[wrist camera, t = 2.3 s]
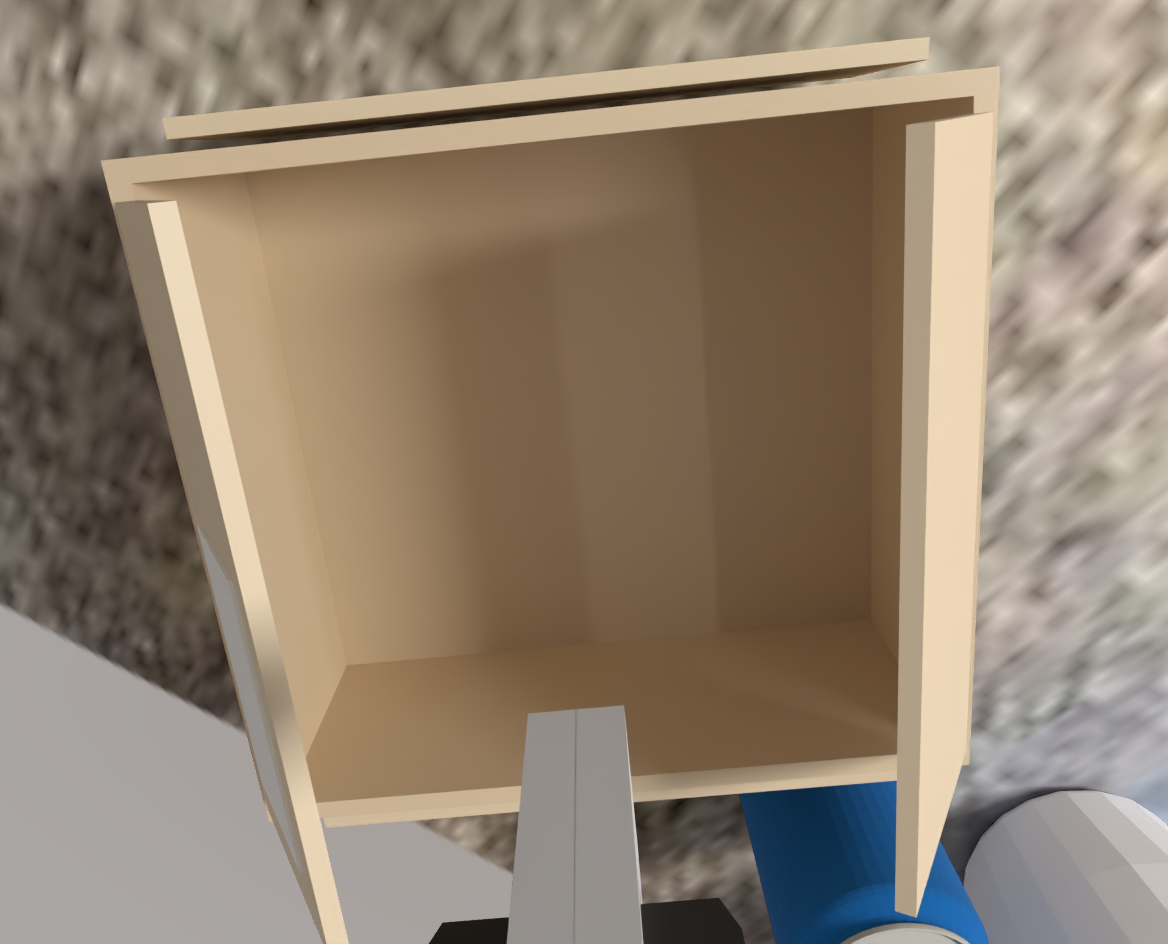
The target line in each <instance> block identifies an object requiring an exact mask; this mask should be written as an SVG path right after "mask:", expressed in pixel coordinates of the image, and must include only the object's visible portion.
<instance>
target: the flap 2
mask: <svg viewBox="0 0 1168 944" xmlns="http://www.w3.org/2000/svg"><path fill="white" fill-rule="evenodd" d="M992 133H993V112H985V113H975V114H967V115H962V116H956V117H950V118H944V119H938V120H932V121H926V122H921V123H915V124H909V125H906V176H905V246H904V316H903V386H902V455H901V525H900V595H899V664H898V734H897V804H896V874H895V911H896V912H900V913H903V914H906V915H909V916H913V917H917V914H918V910H919V907H920V904H921V900H922V897H923V894H924V890H925V887H926V884H927V880H928V877H929V874H930V870H931V867H932V864H933V860H934V857H935V853H936V850H937V847H938V843H939V840H940V837H941V833H942V830H943V827H944V823H945V820H946V817H947V813H948V810H949V806H950V803H951V800H952V796H953V793H954V790H955V786H956V783H957V780H958V776H959V773H960V770H961V766H962V763H963V760H964V756H965V753H966V739H967V716H968V692H969V669H970V646H971V622H972V599H973V576H974V553H975V529H976V506H977V483H978V459H979V436H980V413H981V390H982V366H983V343H984V320H985V296H986V273H987V250H988V226H989V203H990V180H991V157H992Z"/></svg>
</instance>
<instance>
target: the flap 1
mask: <svg viewBox="0 0 1168 944" xmlns="http://www.w3.org/2000/svg"><path fill="white" fill-rule="evenodd" d="M115 207H116V211H117V215H118V219H119V223H120V227H121V231H122V235H123V239H124V243H125V247H126V251H127V255H128V259H129V263H130V266H131V270H132V274H133V278H134V282H135V286H136V290H137V294H138V298H139V302H140V306H141V310H142V314H143V318H144V322H145V326H146V330H147V334H148V337H149V341H150V345H151V349H152V353H153V357H154V361H155V365H156V369H157V373H158V377H159V381H160V385H161V389H162V393H163V397H164V401H165V405H166V408H167V412H168V416H169V420H170V424H171V428H172V432H173V436H174V440H175V444H176V448H177V452H178V456H179V460H180V464H181V468H182V472H183V476H184V479H185V483H186V487H187V491H188V495H189V499H190V503H191V507H192V511H193V515H194V519H195V523H196V527H197V531H198V535H199V539H200V543H201V547H202V550H203V554H204V558H205V562H206V566H207V570H208V574H209V578H210V582H211V586H212V590H213V594H214V598H215V602H216V606H217V610H218V614H219V618H220V621H221V625H222V629H223V633H224V637H225V641H226V645H227V649H228V653H229V657H230V661H231V665H232V669H233V673H234V677H235V681H236V685H237V689H238V692H239V696H240V700H241V704H242V708H243V712H244V716H245V720H246V724H247V728H248V732H249V736H250V740H251V744H252V748H253V752H254V756H255V760H256V763H257V767H258V771H259V775H260V779H261V783H262V787H263V791H264V795H265V799H266V803H267V807H268V810H269V813H270V815H271V818H272V820H273V822H274V825H275V827H276V830H277V832H278V835H279V837H280V839H281V842H282V844H283V847H284V849H285V852H286V854H287V857H288V859H289V861H290V864H291V866H292V868H293V871H294V874H295V876H296V878H297V881H298V883H299V886H300V888H301V891H302V893H303V896H304V898H305V900H306V903H307V905H308V908H309V910H310V913H311V915H312V918H313V920H314V922H315V925H316V927H317V930H318V932H319V935H320V937H321V939H322V942H323V944H349V943H348V938H347V934H346V929H345V925H344V921H343V916H342V912H341V908H340V904H339V899H338V895H337V891H336V886H335V882H334V878H333V874H332V870H331V865H330V861H329V856H328V852H327V848H326V843H325V839H324V835H323V830H322V826H321V822H320V817H319V813H318V809H317V805H316V800H315V796H314V792H313V787H312V783H311V779H310V774H309V770H308V766H307V762H306V757H305V753H304V749H303V744H302V740H301V736H300V731H299V727H298V723H297V719H296V714H295V710H294V706H293V701H292V697H291V693H290V688H289V684H288V680H287V676H286V671H285V667H284V663H283V658H282V654H281V650H280V645H279V641H278V637H277V632H276V628H275V624H274V620H273V615H272V611H271V607H270V602H269V598H268V594H267V589H266V585H265V581H264V577H263V572H262V568H261V564H260V559H259V555H258V551H257V546H256V542H255V538H254V534H253V529H252V525H251V521H250V516H249V512H248V508H247V503H246V499H245V495H244V491H243V486H242V482H241V478H240V473H239V469H238V465H237V460H236V456H235V452H234V447H233V443H232V439H231V435H230V430H229V426H228V422H227V417H226V413H225V409H224V404H223V400H222V396H221V392H220V387H219V383H218V379H217V374H216V370H215V366H214V361H213V357H212V353H211V349H210V344H209V340H208V336H207V331H206V327H205V323H204V318H203V314H202V310H201V306H200V301H199V297H198V293H197V288H196V284H195V280H194V275H193V271H192V267H191V262H190V258H189V254H188V250H187V245H186V241H185V237H184V232H183V228H182V224H181V219H180V215H179V211H178V207H177V202H176V200H134V201H125V202H116V203H115Z"/></svg>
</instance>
